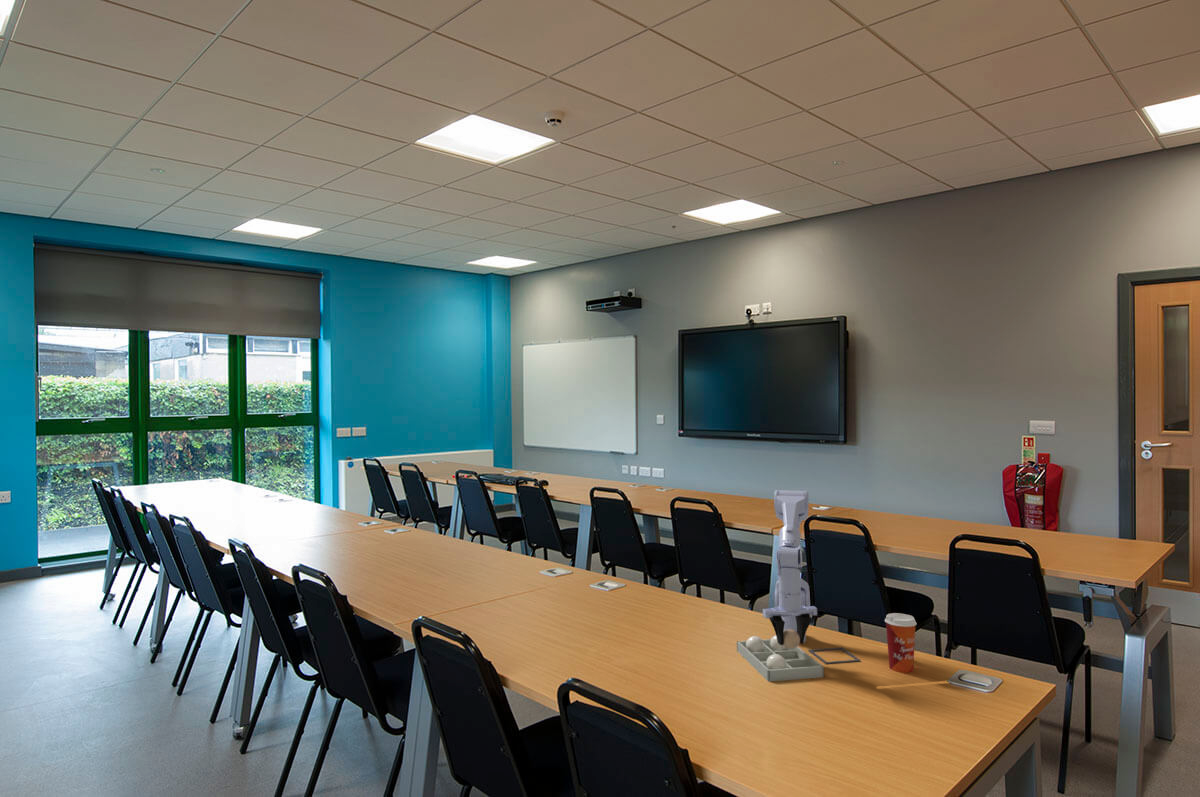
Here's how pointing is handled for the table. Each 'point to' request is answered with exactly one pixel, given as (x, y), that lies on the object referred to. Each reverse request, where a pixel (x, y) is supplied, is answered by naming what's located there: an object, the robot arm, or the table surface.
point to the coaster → (834, 661)
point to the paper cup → (900, 641)
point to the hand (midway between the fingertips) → (790, 643)
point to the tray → (796, 663)
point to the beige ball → (791, 638)
